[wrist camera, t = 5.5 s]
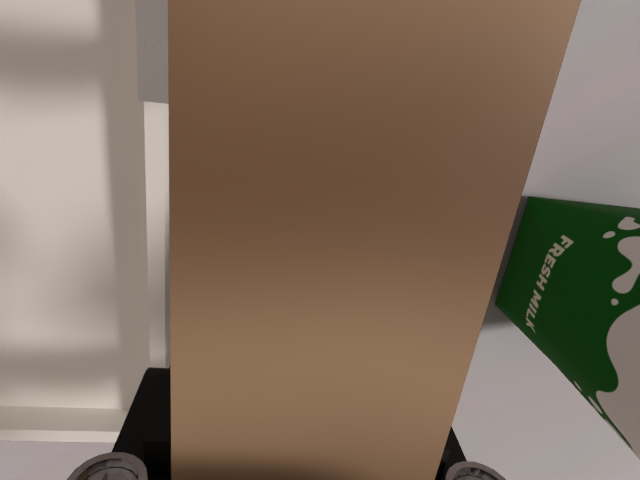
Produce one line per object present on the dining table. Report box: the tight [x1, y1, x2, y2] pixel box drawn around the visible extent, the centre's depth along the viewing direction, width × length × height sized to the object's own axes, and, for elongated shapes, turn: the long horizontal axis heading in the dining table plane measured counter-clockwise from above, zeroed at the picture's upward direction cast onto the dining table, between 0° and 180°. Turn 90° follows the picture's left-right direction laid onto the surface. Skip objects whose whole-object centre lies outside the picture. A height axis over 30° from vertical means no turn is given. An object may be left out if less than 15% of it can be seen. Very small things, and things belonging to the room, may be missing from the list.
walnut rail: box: [168, 0, 581, 480], centre depth 9 cm, size 22×4×4 cm, turn 173°
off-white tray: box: [0, 0, 170, 442], centre depth 22 cm, size 28×14×2 cm, turn 173°
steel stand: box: [135, 0, 169, 104], centre depth 18 cm, size 22×7×13 cm, turn 173°
